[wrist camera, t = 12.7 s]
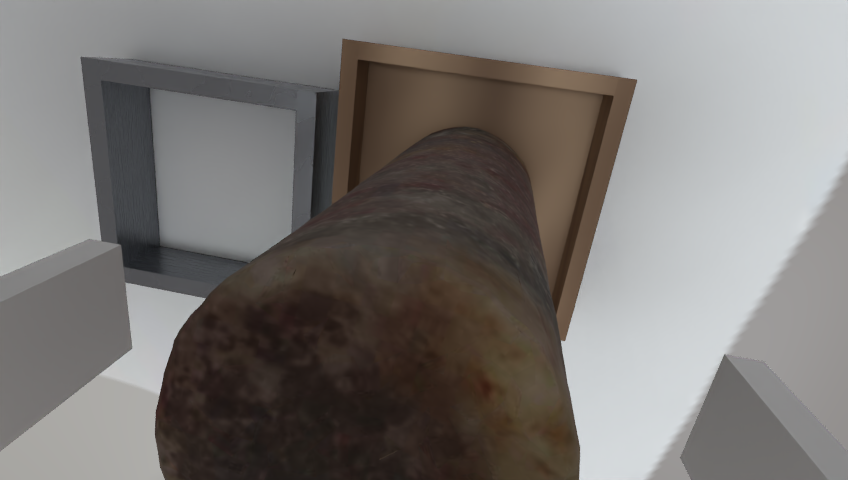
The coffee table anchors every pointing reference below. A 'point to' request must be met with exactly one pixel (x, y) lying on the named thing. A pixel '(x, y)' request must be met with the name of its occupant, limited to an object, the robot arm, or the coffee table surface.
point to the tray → (502, 117)
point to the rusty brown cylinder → (383, 338)
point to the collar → (134, 160)
